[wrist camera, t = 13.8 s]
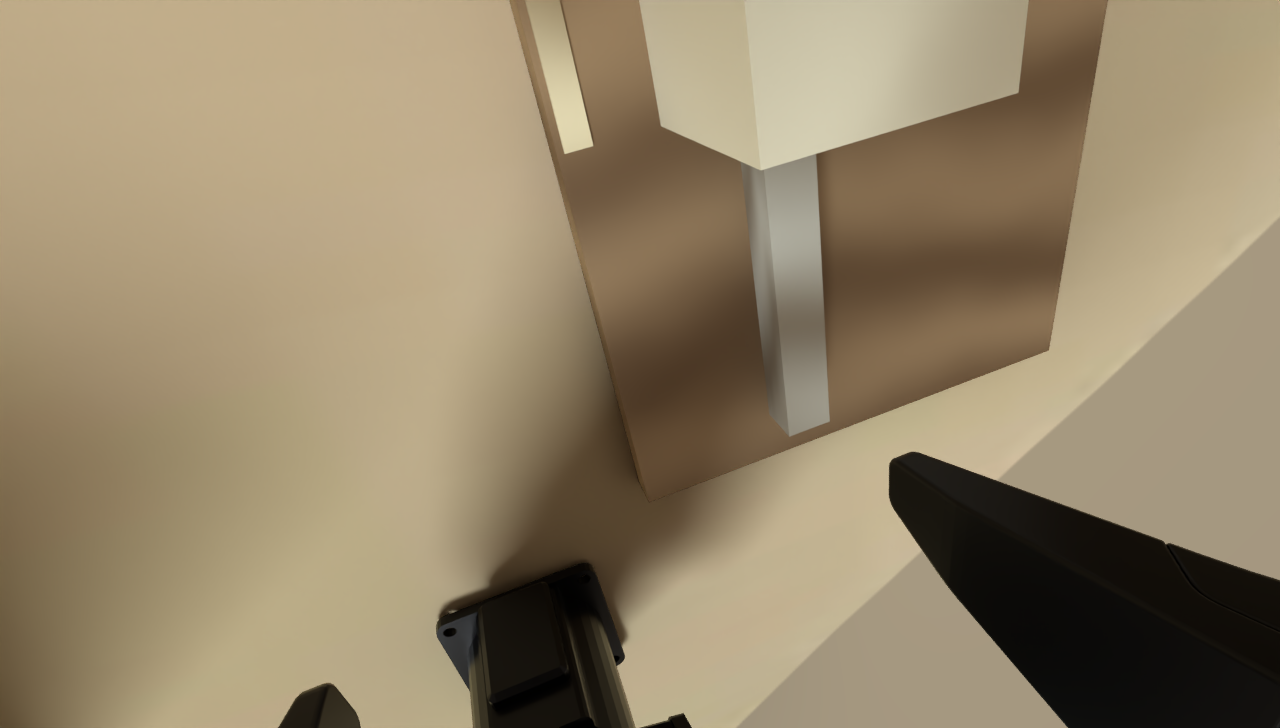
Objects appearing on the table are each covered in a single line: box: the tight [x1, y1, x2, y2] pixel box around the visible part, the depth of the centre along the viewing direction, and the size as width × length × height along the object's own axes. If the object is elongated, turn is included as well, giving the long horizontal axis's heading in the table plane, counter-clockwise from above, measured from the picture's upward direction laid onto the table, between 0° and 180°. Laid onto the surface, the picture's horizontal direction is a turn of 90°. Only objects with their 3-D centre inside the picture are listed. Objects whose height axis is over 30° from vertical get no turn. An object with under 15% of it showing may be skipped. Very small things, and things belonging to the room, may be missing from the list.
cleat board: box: [510, 0, 1108, 502], centre depth 19 cm, size 24×18×3 cm
